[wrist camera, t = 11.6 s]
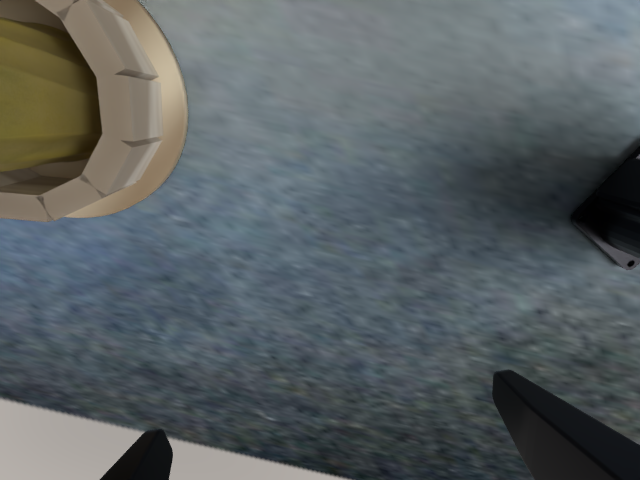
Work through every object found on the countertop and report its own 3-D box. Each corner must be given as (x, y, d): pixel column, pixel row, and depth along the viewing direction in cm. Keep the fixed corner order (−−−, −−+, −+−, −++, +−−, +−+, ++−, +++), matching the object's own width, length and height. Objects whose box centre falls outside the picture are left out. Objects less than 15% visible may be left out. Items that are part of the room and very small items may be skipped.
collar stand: (232, 71, 17) (213, 59, 13) (125, 251, 21) (81, 287, 16) (-25, -128, 14) (-161, -229, 10) (-107, 123, 17) (-236, 128, 13)
